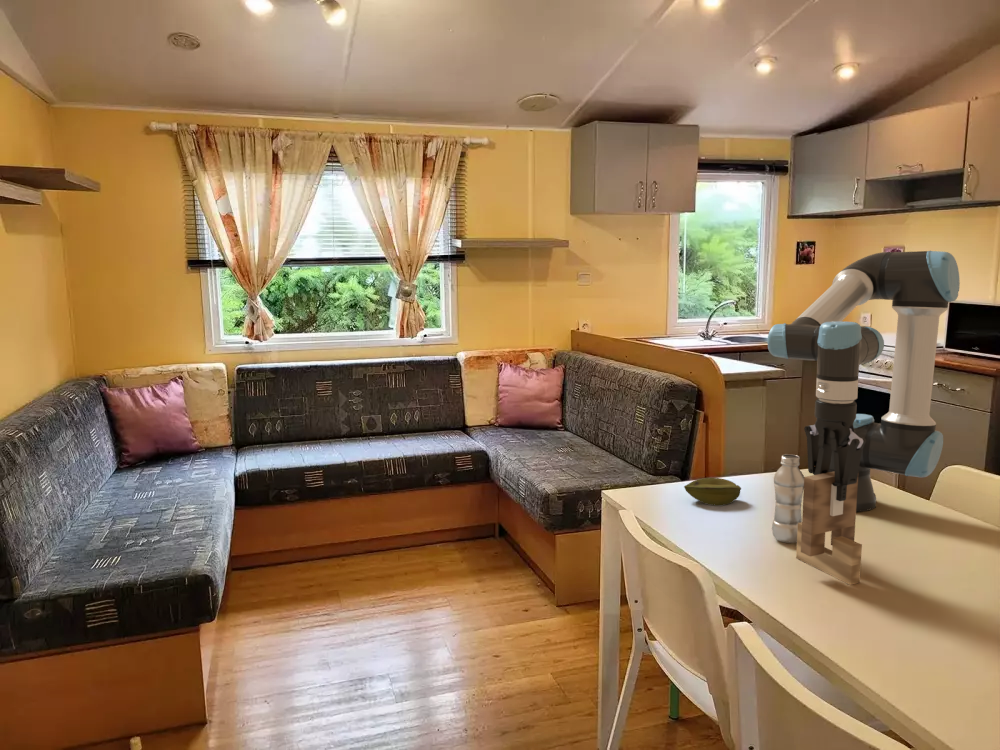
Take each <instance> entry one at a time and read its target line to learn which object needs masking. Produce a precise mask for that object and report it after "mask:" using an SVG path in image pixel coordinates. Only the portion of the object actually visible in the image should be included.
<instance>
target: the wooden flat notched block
mask: <svg viewBox="0 0 1000 750" xmlns="http://www.w3.org/2000/svg"><path fill="white" fill-rule="evenodd" d="M834 482H835V471H834V472H828V473H823V474H818V475H814V474H812V475H808V476H804V490H803V495H802V514H801V516H802V535H801V552H802V553H804V554H806V555H808V556H810V557H811V556H815V555H819V554H823V553H824V548H826V546H825V545H826V533H827V532H831V534H830V546H832V547H833V538H836V537H840V536H843V537H845V538H848V539H850V540H852V541H855V538H856V537H855V534H856V533H855V532H856V519H857V518H856V516H857V511H856V504H857V488H858V477H857V482H856V483H855V484H850V485H847V493H846V500H844V501H843V514H841V515H837V516H831V515H830V503H831V484H832V483H834Z"/></svg>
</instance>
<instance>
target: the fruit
mask: <svg viewBox="0 0 1000 750" xmlns="http://www.w3.org/2000/svg"><path fill="white" fill-rule="evenodd" d="M683 488H684V490H685V492H686V493H688V494H689V495H690V496H691V497H692V498H693V499H695V500H696V501H699V502H700V503H703V504H706V505H708V506H709V505H710V506H715V507H716V506H726V505H729V504H731V503H733V502H735V501H736V500H737V499H738V498H739V497H740V495H741V490H742V487H741V486H740V485H737V484H736V483H735V482H734V481H731V480H728V479H725V478H720V477H704V478H698V479H694V480H692V481H691V482H689V483H688V484H686V485H684V486H683Z"/></svg>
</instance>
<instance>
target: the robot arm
mask: <svg viewBox="0 0 1000 750" xmlns="http://www.w3.org/2000/svg"><path fill="white" fill-rule="evenodd" d="M960 283H961V282H960V271H959V266H958V262H957V260H956V258H955V257H954V255H953V254H952V253H950V252H949V251H948V252H947V251H942V250H941V251H939V250H938V251H936V250H935V251H934V250H925V251H924V250H923V251H922V250H921V251H894V252H892V251H891V252H890V251H888V252H887V251H885V252H884V251H883V252H877V253H873V254H869V255H866V256H864V257H862V258H860V259H857V260H856V261H854V262H852V263H851V264H848V265H847V266H846V267H845V268H843V269H842V270H841V271H839V272H838V273H837V274H836V275H835V277H834V278H833V280H832V284H831V286H829V287H828V288H827V289H826V290H825V291H824V292H823V293H822V294H820V296H819V297H818V298H817V299H815V300H814V302H812V303H811V305H809V306H808V307H807V308H806V309H805V310H804V311H803V312H802V313H801V314H800V315H799V316H798V317H797V318H796V319H795V320H794V321H791V322H792V323H790V324H788V323H776V324H774V325H772V327H771V328H770V329H769V332H768V335H767V341H766V342H767V349H768V351H769V353H770V355H772V356H773V357H776V358H782V359H786V360H789V359H790V360H802V361H816V363H817V364H816V384H815V385H816V386H815V388H816V389H815V397H816V398H817V399H816V400H814V401H815V402H814V417H815V418H816V420H815V422H814V424H812V425H805V426H804V429H803V430H804V434H805V436H806V447H807V450H806V451H807V471H808V473H809V474H812V475H818V474H823V473H828V472H834V471H835V482H834V483H832V484H831V503H830V515H831V516H837V515H841V514H843V501H844V500H846V493H847V485H850V484H855V483H856V482H857V477H858V488H857V504H856V512H865V511H866V512H867V511H870V510H873V509H875V507H876V506H877V495H876V493H875V490H874V487H873V482H872V478H871V469H872V470H875V471H882V472H888V473H893V474H898V475H904V476H906V477H916V478H926V477H928V476H930V475H931V474H932V473H933V472H934V471H935V469H936V467H937V465H938V463H939V460H940V457H941V455H942V451H943V446H944V434H943V433H942V432H941V431H939V430H936V426H937V422H936V421H935V420H934V419H933V418H932V417H931V414H930V413H931V412H930V411H931V402H932V393H933V382H934V372H935V363H936V354H937V353H936V352H937V343H938V333H939V323H940V317H941V315H942V314H944V313H945V312H946V311H948V310H949V303H952V302H955V301H956V300H957V298H959V297H958V296H959V291H960ZM873 300H884V301H885V300H890V301H892V303H891V308H892V310H894V312H895V313H897V325H896V333H895V345H894V347H895V348H894V355H893V366H892V377H891V388H890V397H889V398H890V399H889V408H888V412H887V413H885V414H884V415H882V416H881V420H880V422H879V423H878V422H875V419H874V416H873V415H871V414H866V413H857V407H858V405H857V402H856V400H857V399H858V393H859V391H858V389H859V372H860V365H864V364H868V363H869V364H870V363H871V362H873V361H874V360H877V359H878V358H879V356H881V354H883V351H884V349H885V340H884V337H883V335H882V333H880V332H879V331H878V330H877V328H876V329H875V328H873V327H870V326H861V325H860V324H859V323H858V322H855V321H844V320H845V318H847V317H848V316H849V315H850V314H851V313H852V311H853V310H855V309H856V307H857V306H862V305H864V304H865V303H867V302H868V301H873Z"/></svg>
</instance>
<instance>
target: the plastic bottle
mask: <svg viewBox="0 0 1000 750" xmlns="http://www.w3.org/2000/svg"><path fill="white" fill-rule="evenodd" d="M780 458H781V460H780V465H781V466H780V467H779V468H778V469H777V471H776V472H775V473H774V476H773V485H774V493H775V495H774V496H775V497H774V498H775V508H774V516H773V520H772V523H771V524H772V526H771V531H772V536H773V537H774V539H775V540H777V541H778V542H781V543H782V542H783V543H786V544H787V543H788V544H795V543H796V544H797V530H798V523H800V522H802V504H803V494H804V477H805V476H804V474H803V472H802V471H801V469H800V468H799V466H800V464H801V463H800V456H799V455H797V454H796V455H795V454H792V453H791V454H788V453H785V454H782V455H781V457H780Z"/></svg>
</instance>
